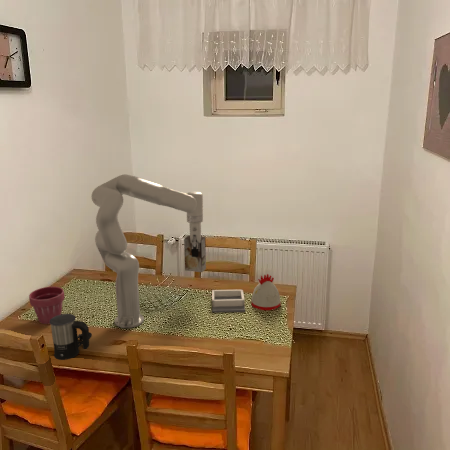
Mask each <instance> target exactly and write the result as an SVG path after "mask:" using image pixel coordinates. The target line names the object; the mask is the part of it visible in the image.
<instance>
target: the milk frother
mask: <svg viewBox="0 0 450 450" xmlns="http://www.w3.org/2000/svg"><path fill="white" fill-rule="evenodd" d="M49 324H50V328H51V335H52V343H53V351H54V353H53V354H54V355H53V356H54V358H55V359H56V360H58V361H67V360H71V359H73V358H75V357H77V356H78V355H79V353H80V347H81V346H82V350H88V348H89V347H90V339H91V338H92V337H93V334H92V333H91V332H90V330H89V325H87V323H86V322H84V321H83V320H82V321H80V320H76V316H75V315H74V314H71V313H63V314H62V313H61V315H57V316H55V317H53V318H52V319H50V323H49ZM77 329H78V330H80V331H81V333H79V334H78V330H77Z"/></svg>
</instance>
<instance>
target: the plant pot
mask: <svg viewBox="0 0 450 450" xmlns="http://www.w3.org/2000/svg"><path fill="white" fill-rule="evenodd" d="M65 298H66V297H65V290H64V288H62V287H59V286H45V287H41V288H37V289H35V290H33V291H32V292H30V293H29V295H28V300H29V305H30V306H31V307H33V309H34V312H35V315H36V317H37V319H38V322H39V323H40V324H45V325H46V324H47V325H49V324H50V319H52V318H53V317H55V316H57V315H61V314H62V310H63V302H64V300H65Z"/></svg>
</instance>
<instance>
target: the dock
mask: <svg viewBox="0 0 450 450" xmlns="http://www.w3.org/2000/svg"><path fill="white" fill-rule="evenodd" d="M211 294H212V295H211V298H212V299H211V301H212V302H211V303H212V308H211V309H212V311H211V312H212V314H213V312H214V313H245V312H246V307H245V300H246V299H245V296H244V295H245V293H244V290H243V289H212V290H211Z"/></svg>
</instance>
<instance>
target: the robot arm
mask: <svg viewBox="0 0 450 450" xmlns="http://www.w3.org/2000/svg"><path fill="white" fill-rule="evenodd" d="M123 195H125V196H128V197H131V198H135V199H138V200H141V201H144V202H147V203H148V202H149V203H151V204H154V205H158V206H163V207H168V208H170V209H174V210H178V211H181V212H185V213H186V223H189V236H190V242H191V243H192V249H191V252H192V257H198V243H201V237H202V224H201V223H203V222H204V219H203V217H204V213H203V212H204V211H203V210H204V209H203V207H204V205H203V204H204V199H203V198H204V197H203V193H202V192H201V191H190V192H182V191H181V192H180V191H179V190H175V189H171V188H170V187H167V186H164V185H161V184H159V183H156V182H152V181H150V180H147V179H145V178H141V177H138V176H135V175H130V174H119V175H117V176H115V177H113V178H111V179H110V180H107V181H106V182H103V183H102V184H100V185H98V186H96V187H95V188H94V189H93V190H92V193H91V197H90V198H91V202H93V204H94V205H95V206H97V207H99V208H98V210H97V212H96V213H97V214H96V217H95V224H96V227H97V229H98V231H97V232H96V234H95V238H94V242H95V246H96V248H97V250H98V253H99V254H100V257H101V259H102V260H103V262H104V264H105V266H106V267H108V268H109V269H110V270H111V271H114V273H116V279H115V283H114V284H115V296H116V297H115V298H116V307H117V308H116V310H117V311H116V312H117V316H116V317H115V319H114V325H115V326H116V327H119V328H121V329H133V328H135V327H138V326H141V325H142V324H143V323H144V321H145V317H144V315H142V314H141V311H140V309H141V308H140V293H139V292H140V291H139V290H140V289H139V271H140V263H139V260H138V258H136V256H134V254H132V253H129V252H127V251H126V250H127V247H128V242H127V238H126V236H125V234H124V231H123V229H122V227H121V224H120V222H119V219H118V218H119V217H118V215H119V213H120V211H121V209H122V207H123V204H124V197H123ZM196 240H197V242H196ZM196 244H197V245H196Z"/></svg>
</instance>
